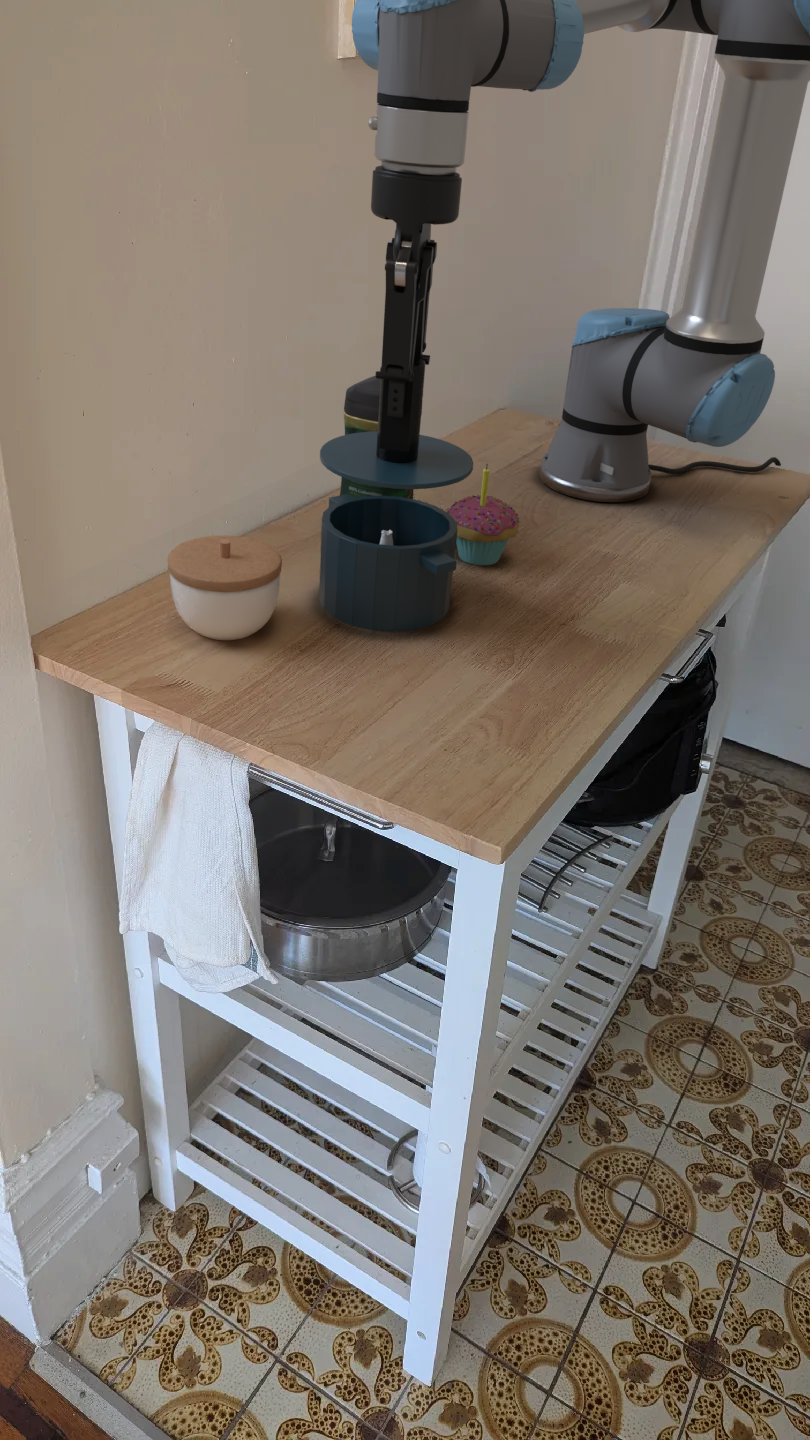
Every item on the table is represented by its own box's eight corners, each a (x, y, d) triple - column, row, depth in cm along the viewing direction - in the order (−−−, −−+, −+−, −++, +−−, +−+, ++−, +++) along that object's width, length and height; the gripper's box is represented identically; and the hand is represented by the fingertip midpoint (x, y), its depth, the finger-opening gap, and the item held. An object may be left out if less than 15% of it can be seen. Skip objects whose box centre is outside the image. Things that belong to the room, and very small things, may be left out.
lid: (411, 434, 111) (419, 334, 106) (503, 480, 102) (517, 373, 96) (290, 453, 104) (292, 347, 98) (377, 506, 94) (384, 391, 88)
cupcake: (509, 577, 120) (523, 475, 114) (435, 566, 121) (445, 464, 115) (517, 548, 127) (531, 450, 121) (448, 537, 128) (458, 440, 122)
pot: (384, 559, 122) (390, 479, 117) (490, 628, 109) (502, 543, 104) (282, 582, 115) (283, 499, 109) (383, 660, 102) (389, 570, 97)
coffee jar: (388, 555, 123) (400, 394, 113) (327, 539, 125) (333, 380, 115) (420, 527, 130) (434, 374, 120) (362, 513, 133) (371, 362, 123)
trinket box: (237, 667, 99) (236, 576, 94) (147, 634, 103) (142, 544, 98) (301, 624, 107) (304, 537, 102) (216, 595, 111) (214, 510, 106)
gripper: (390, 154, 96) (375, 410, 109) (354, 172, 82) (341, 465, 95) (472, 162, 95) (447, 419, 108) (450, 182, 81) (425, 476, 94)
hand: (398, 440), depth 101 cm, fingers closed on lid, 4 cm apart
